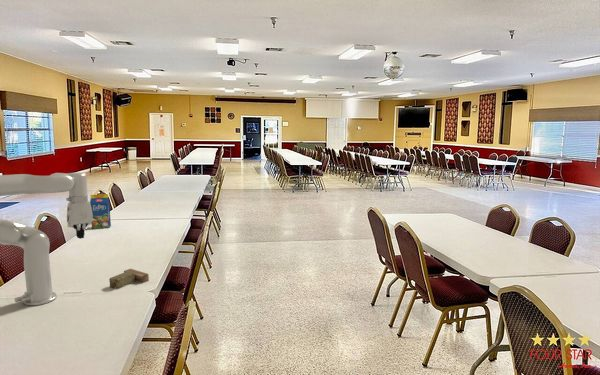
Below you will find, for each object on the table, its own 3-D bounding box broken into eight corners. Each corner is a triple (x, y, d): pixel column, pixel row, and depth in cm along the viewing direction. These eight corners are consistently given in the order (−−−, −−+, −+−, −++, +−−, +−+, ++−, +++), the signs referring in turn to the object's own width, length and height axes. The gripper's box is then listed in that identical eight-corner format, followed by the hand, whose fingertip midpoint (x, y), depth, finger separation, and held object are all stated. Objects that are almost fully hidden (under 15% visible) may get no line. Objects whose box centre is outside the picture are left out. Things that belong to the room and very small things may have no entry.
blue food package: (93, 226, 315) (91, 194, 311) (110, 226, 318) (108, 193, 314) (91, 228, 309) (89, 195, 305) (109, 228, 312) (107, 194, 308)
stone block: (136, 281, 208) (135, 272, 207) (116, 290, 198) (116, 280, 197) (128, 279, 210) (127, 270, 210) (108, 287, 200) (107, 278, 200)
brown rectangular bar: (141, 283, 206) (141, 276, 205) (124, 277, 213) (123, 270, 213) (148, 280, 209) (148, 273, 208) (131, 275, 216) (130, 268, 216)
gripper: (65, 202, 186) (67, 242, 188) (98, 198, 197) (100, 236, 200) (57, 200, 190) (60, 239, 193) (90, 196, 202) (92, 233, 204)
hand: (80, 237), depth 196 cm, fingers closed
